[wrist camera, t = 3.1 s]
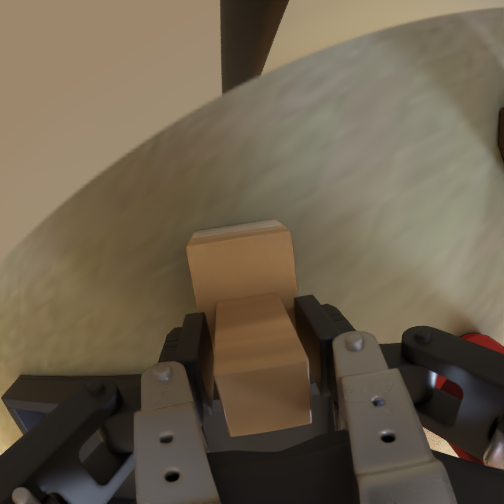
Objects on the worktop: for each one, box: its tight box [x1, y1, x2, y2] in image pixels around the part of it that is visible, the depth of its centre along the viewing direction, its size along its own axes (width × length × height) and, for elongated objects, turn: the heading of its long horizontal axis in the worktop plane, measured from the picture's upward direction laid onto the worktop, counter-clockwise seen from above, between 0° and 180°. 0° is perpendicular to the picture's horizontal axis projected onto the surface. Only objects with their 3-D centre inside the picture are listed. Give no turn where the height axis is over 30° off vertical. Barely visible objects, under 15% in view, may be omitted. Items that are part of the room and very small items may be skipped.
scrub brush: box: [186, 219, 312, 437], centre depth 12 cm, size 7×4×9 cm, turn 8°
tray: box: [1, 370, 335, 504], centre depth 17 cm, size 15×22×3 cm
